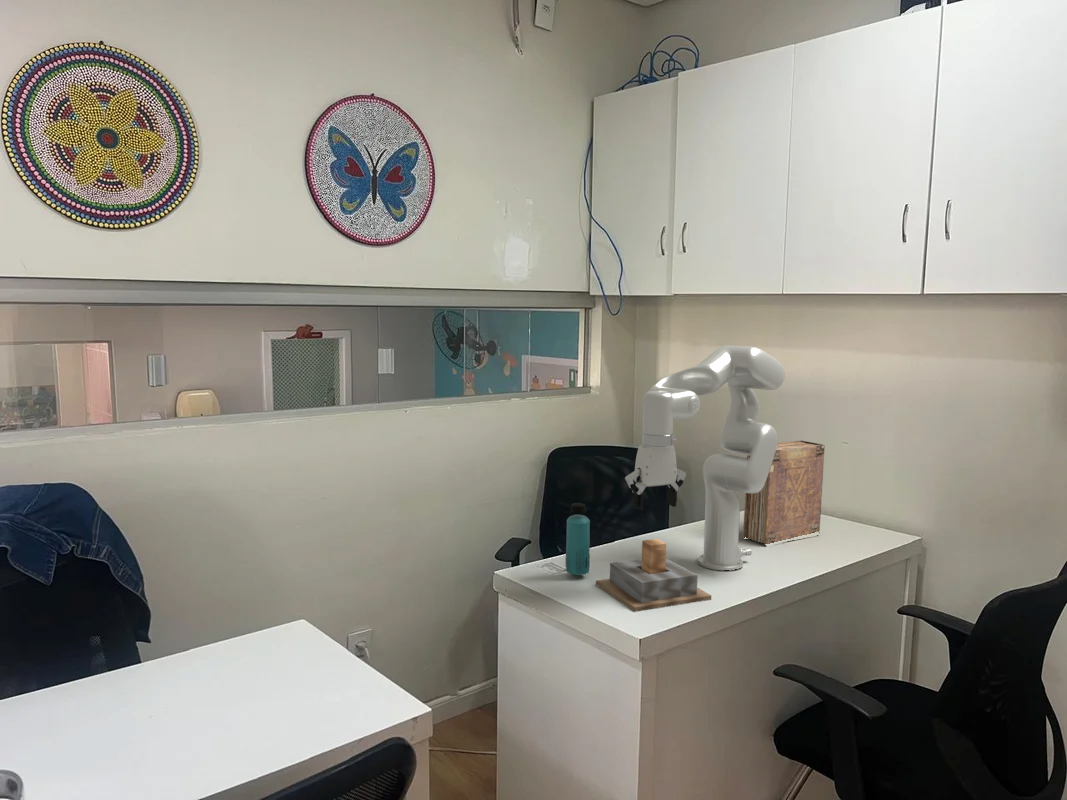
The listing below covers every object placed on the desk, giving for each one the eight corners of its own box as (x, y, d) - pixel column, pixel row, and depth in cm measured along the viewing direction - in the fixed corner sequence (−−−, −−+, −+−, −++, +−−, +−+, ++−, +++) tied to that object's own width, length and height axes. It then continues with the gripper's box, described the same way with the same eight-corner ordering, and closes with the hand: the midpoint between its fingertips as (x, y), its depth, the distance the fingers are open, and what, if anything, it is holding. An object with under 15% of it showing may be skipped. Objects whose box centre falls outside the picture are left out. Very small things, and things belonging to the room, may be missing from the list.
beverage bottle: (587, 581, 206) (589, 507, 203) (563, 579, 207) (564, 506, 205) (590, 573, 212) (592, 501, 210) (566, 571, 213) (568, 500, 211)
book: (765, 547, 239) (769, 450, 235) (742, 539, 247) (746, 446, 243) (819, 535, 252) (825, 444, 249) (796, 528, 260) (801, 440, 256)
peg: (655, 583, 202) (657, 538, 200) (664, 589, 198) (666, 543, 196) (640, 585, 200) (642, 540, 199) (649, 591, 196) (651, 545, 195)
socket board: (667, 574, 213) (668, 552, 212) (711, 599, 194) (712, 576, 194) (595, 584, 204) (596, 561, 203) (634, 611, 186) (635, 587, 185)
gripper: (678, 436, 202) (675, 500, 204) (619, 440, 195) (618, 506, 197) (694, 440, 195) (692, 507, 197) (635, 445, 188) (633, 514, 190)
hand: (655, 507), depth 197 cm, fingers open, 9 cm apart
